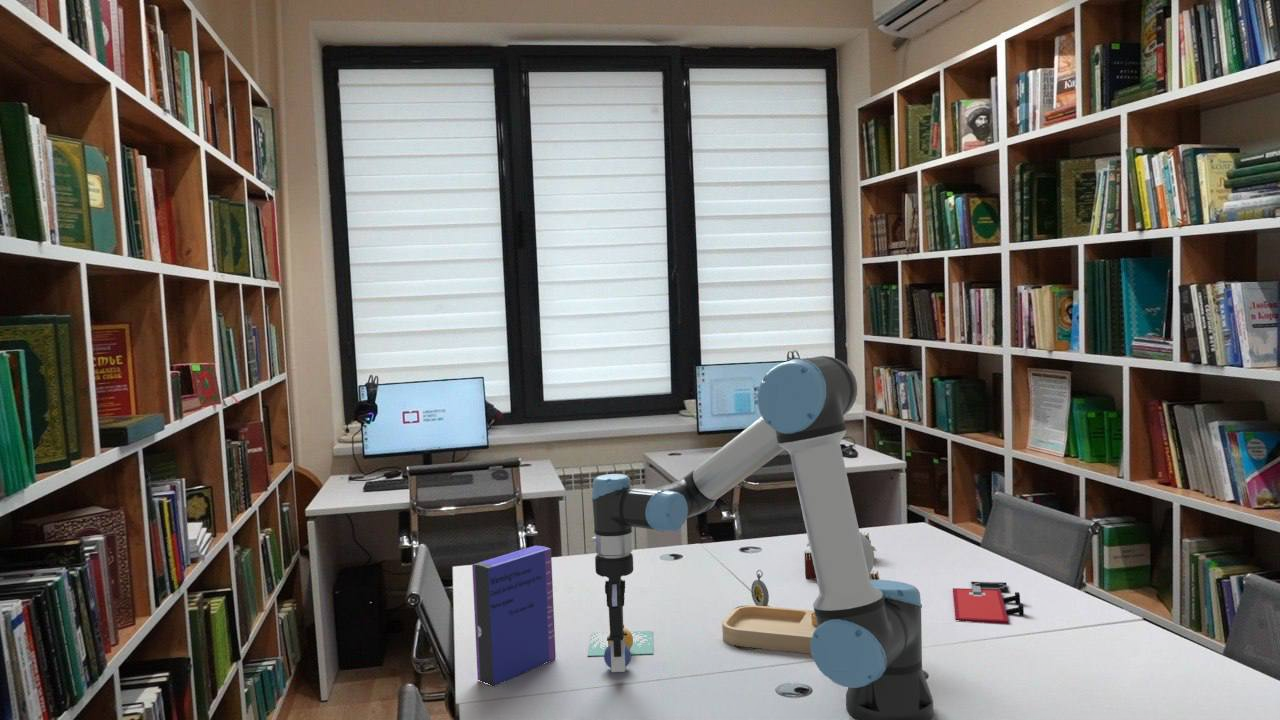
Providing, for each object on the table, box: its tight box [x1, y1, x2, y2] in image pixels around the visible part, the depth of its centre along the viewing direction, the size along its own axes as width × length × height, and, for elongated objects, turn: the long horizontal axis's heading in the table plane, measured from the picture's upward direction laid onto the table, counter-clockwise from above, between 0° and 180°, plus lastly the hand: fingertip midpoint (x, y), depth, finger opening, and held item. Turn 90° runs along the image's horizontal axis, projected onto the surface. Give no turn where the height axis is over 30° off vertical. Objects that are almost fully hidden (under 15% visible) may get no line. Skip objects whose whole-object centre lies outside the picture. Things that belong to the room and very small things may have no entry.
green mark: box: [587, 630, 654, 657], centre depth 203 cm, size 14×14×1 cm
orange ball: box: [608, 627, 633, 650], centre depth 198 cm, size 6×6×6 cm
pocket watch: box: [734, 569, 770, 609], centre depth 220 cm, size 8×8×10 cm
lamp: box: [721, 531, 875, 655], centre depth 202 cm, size 33×17×25 cm, turn 68°
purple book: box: [471, 545, 557, 687], centre depth 190 cm, size 17×5×24 cm, turn 141°
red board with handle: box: [952, 581, 1025, 625], centre depth 222 cm, size 30×3×15 cm
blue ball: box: [603, 644, 632, 669], centre depth 189 cm, size 6×6×6 cm
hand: (618, 670), depth 183 cm, fingers closed
